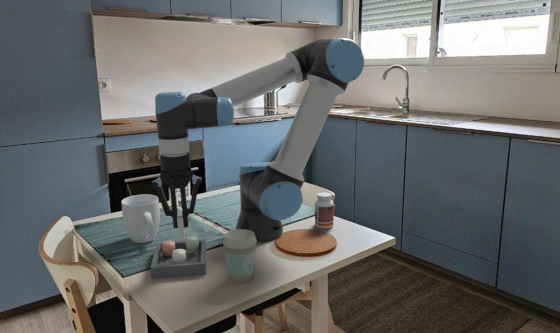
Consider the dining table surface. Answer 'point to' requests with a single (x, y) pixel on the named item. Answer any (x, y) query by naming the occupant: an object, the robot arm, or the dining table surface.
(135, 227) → the mug
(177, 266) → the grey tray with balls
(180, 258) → the button ivory
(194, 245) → the button sage
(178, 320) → the dining table surface
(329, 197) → the pill bottle
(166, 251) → the button coral
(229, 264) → the coffee cup
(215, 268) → the dining table surface
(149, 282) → the dining table surface
